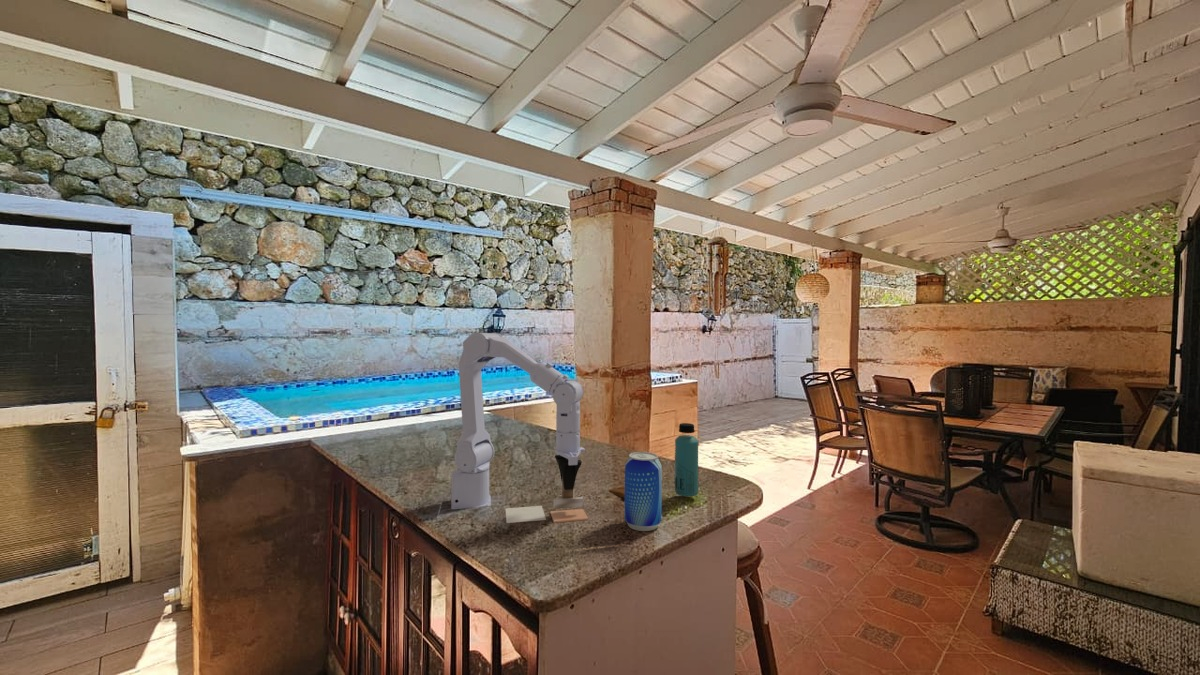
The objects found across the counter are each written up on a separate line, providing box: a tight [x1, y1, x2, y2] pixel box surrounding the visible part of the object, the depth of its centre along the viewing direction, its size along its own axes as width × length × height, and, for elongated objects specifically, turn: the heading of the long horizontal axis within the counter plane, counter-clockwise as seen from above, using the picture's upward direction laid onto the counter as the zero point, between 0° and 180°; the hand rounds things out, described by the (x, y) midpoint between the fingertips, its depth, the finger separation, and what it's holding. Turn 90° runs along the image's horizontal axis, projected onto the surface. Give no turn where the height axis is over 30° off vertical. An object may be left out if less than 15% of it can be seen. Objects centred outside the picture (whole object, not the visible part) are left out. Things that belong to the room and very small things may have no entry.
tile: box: [550, 508, 589, 524], centre depth 110 cm, size 8×1×6 cm
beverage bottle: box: [673, 422, 700, 497], centre depth 124 cm, size 6×7×20 cm
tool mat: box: [505, 505, 547, 524], centre depth 111 cm, size 9×9×1 cm
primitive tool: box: [608, 485, 625, 500], centre depth 122 cm, size 19×6×4 cm, turn 28°
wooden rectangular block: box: [552, 479, 584, 510], centre depth 111 cm, size 7×3×7 cm, turn 103°
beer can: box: [624, 451, 663, 532], centre depth 106 cm, size 8×8×16 cm
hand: (567, 487), depth 111 cm, fingers closed on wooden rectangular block, 2 cm apart
